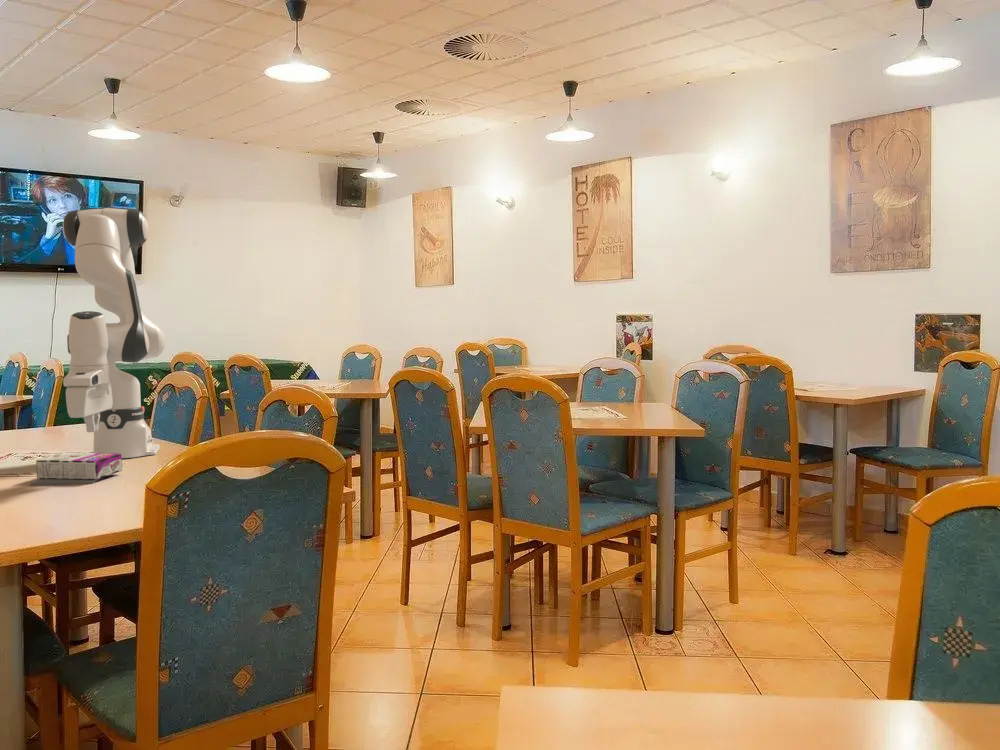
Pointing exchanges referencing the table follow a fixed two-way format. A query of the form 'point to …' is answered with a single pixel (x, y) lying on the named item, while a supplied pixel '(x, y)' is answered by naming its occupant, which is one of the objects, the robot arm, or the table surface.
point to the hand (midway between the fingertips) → (92, 431)
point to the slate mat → (63, 481)
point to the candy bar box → (79, 465)
